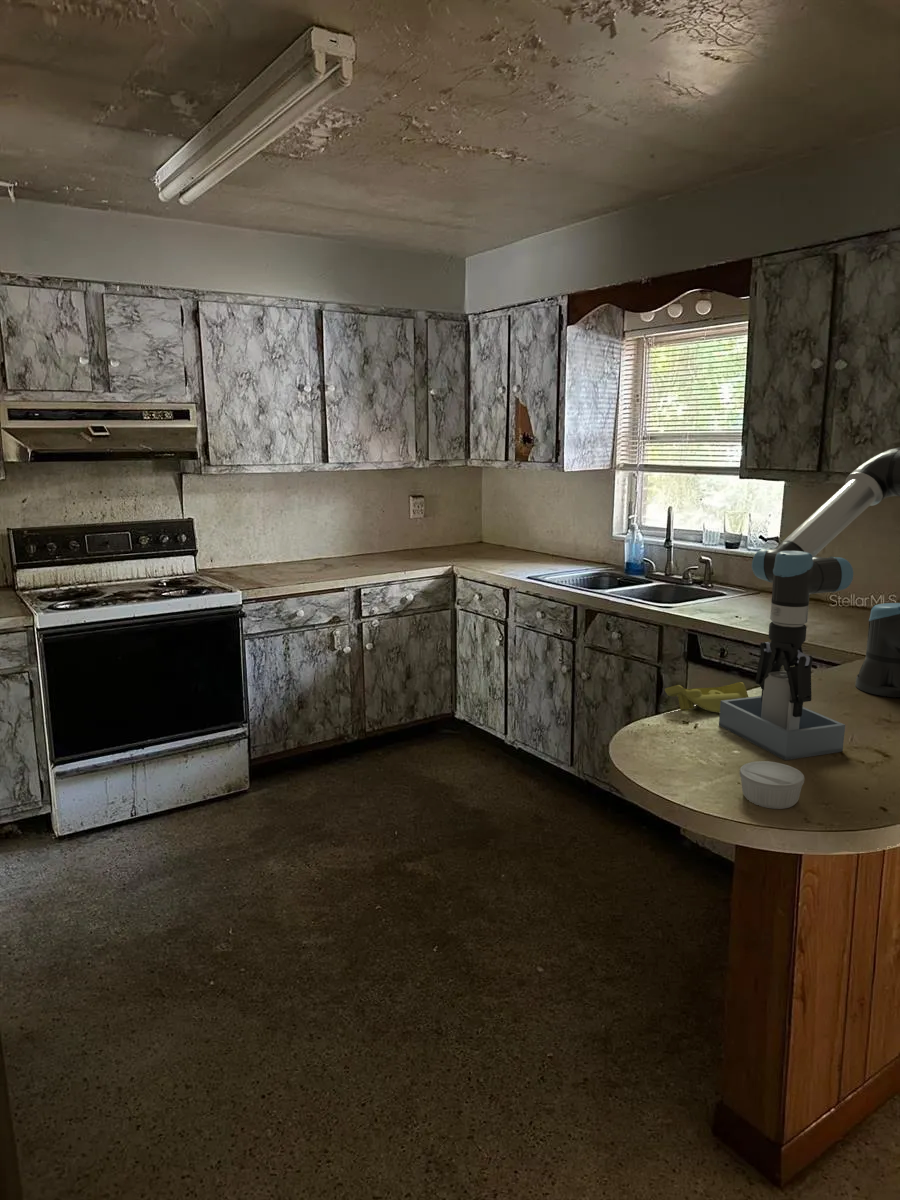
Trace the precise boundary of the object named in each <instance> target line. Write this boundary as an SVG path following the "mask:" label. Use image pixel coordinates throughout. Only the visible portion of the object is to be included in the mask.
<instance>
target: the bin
mask: <svg viewBox="0 0 900 1200" xmlns="http://www.w3.org/2000/svg"><path fill="white" fill-rule="evenodd" d="M761 696H762V695H759V696H758V695H757V696H750V697H749V696H748V697H747V698H739V699H731V700H722V701H721V702H720V713H719V719H718V726H719V727H721V728H722V729H724V730H727V731H729V732H730V733H732V734H734V735H736V736H738V737H739V738H742V739H744V740H745V741H748V742H749V743H751V744H753V745H755V746H757V747H759V748H761V749H763V750H764V749H765V751H767V752H768V751H769V752H768V753H770V754H773V755H774V756H776V757H777V758H780V759H781V760H784V761H790V760H797V759H803V758H808V757H815V756H822V755H823V756H824V755H827V754H828V755H829V754H836V753H840V752H841V753H842V752H843V751H844V744H845V743H844V742H845V741H844V740H845V732H846V724H845V723H842V722H839V721H838V720H836V719H835V720H834V719H832V718H831V717H828V716H827V715H823V714H821V713H819V712H816V711H814V710H811V709H809V708H807V707H804V706H803V708H802V716H801V717H800V723H799V729H797V730H790V731H788V730H786V729H783V728H781V727H779V726H777V725H775V724H773V723H771V722H769V721H767V720H765V719H762V718H761V711H762V701H761Z"/></svg>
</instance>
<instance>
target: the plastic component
mask: <svg viewBox="0 0 900 1200" xmlns="http://www.w3.org/2000/svg"><path fill="white" fill-rule="evenodd" d="M747 691H748V690H747V687H746V685H745V683H744V682H741V681H738V682H734V683H731V684H727V685H722V686H716V687H695V688H694V687H693V688H692V687H691V688H684V687H683V686H682V685H680V684H677V685H672V686H668V687H666V688H664V692H665V693H666V696H669V697H677V698H678V704H679V709H680V711H685V710H684V709H686V710H688V711H689V710H692V709H695V706H697V707H699V708H701V709H703V710H705V711H708V712H710V713H719V714H720V702H721V701H722V700H731V699H739V698H747V697H749V694H748V692H747Z"/></svg>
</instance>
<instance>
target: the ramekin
mask: <svg viewBox="0 0 900 1200" xmlns="http://www.w3.org/2000/svg"><path fill="white" fill-rule="evenodd" d="M739 777H740V780H741V781H740V782H741V789H742V794H743V796H744V797H745V798H746V799H747V801H748V800H749V801H748V802H750V803H751V802H752V804H753V803H754V805H756V806H758V805H759V807H762V808H766V809H775V810H781V809H783V810H785V809H789V808H792V807H793V806H795V804H797V803H798V801H799V799H800V795H801V793H802V792H801V791H802V787H803V785H804V784H805V775H804V774H803V772H802V771H800V770H799V769H798V768H796V767H793V766H790V765H787V764H784V763H781V762H775V761H768V760H766V761H765V760H763V761H762V760H760V761H759V760H758V761H757V760H756V761H751V762H750V761H749V762H748V763H747V762H746V763H745V764H743V765H742V766H741V767H740V768H739Z"/></svg>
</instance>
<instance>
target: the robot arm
mask: <svg viewBox="0 0 900 1200" xmlns="http://www.w3.org/2000/svg"><path fill="white" fill-rule="evenodd" d="M890 497H900V446H899V447H893V448H890V449H888V450H885V451H882V452H880V453H878V454H877V455H875V456H872V457H871V458H869V459H868V460H867V461H864V462H863V463H862V464H860V465H859V466H858V467H857V468H856V469H854V470H853V471H851V472H850V474H849V475H848V476H847V477H846V479H845V484H844V485H843V486H841V488H839V489H838V490H837V491H836V492H835V493H834V494H833V495H832V496H830V498H828V499H827V500H826V501H825V502H824V503H823V504H822V505H820V507H819V508H817V509H816V510H815V511H814V512H813V513H812V514H811V515H810V516H808V518H807V519H806V520H804V522H802V523H801V524H800V525H799V526H798V527H797V528H796V529H794V530H793V531H792V532H791V533H790V534H789V535H788V536H787V537H786V538H785V539H783V540H782V541H781V543H778V545H777V546H776V547H775V548H771V547H769V548H762V549H759V550H758V551H756V552H755V554H754V556H753V558H752V561H751V570H752V572H753V575H754V576H755V577H756V578H757V579H760V580H762V581H765V582H769V583H771V584H772V589H771V592H772V593H771V604H770V612H769V613H770V614H769V620H770V621H771V622H770V623H769V626H768V639H769V640H770V641H767V642H766V641H765V642H761V643H760V644H759V647H760V655H759V659H758V665H757V669H756V674H755V675H756V677H755V684H756V685H759V686H760V688H761V695H760V696H761V701H762V708H763V696H764V684H765V679H766V678H767V677H768V676H769V675H768V674H769V673H770V672H776V671H781V669H782V667H783V669H784V670H783V671H784V672H787V676H788V681H789V686H790V692H791V697H792V700H790V701H789V705H788V717H787V728H786V730H788V731H790V730H797V729H799V723H800V717H801V716H802V708H803V707H804V703H807V702H811V701H812V664H813V660H814V657H813V655H806V654H805V653H804V652H803V651H804V650H803V648H802V647H803V644H804V642H806V637H807V627H808V626H806V624H807V623H808V619H809V617H808V616H809V605H810V595H814V594H816V595H817V594H823V593H836V592H839V591H842V590H845V589H848V587H850V585H851V584H852V582H853V581H854V580H853V579H854V568H853V566H852V564H851V563H850V562H849V561H848V560H847V559H846V558H843V557H840V556H839V557H834V556H830V557H821V556H817V555H818V554H819V553H820V552H821V551H822V550H823V549H825V547H826V546H828V544H830V543H831V542H832V541H833V540H834V539H835V538H836V537H837V536H838V535H839V534H840V533H842V532H843V531H844V530H845V529H846V528H847V527H848V526H849V525H850V524H851V523H852V522H854V521H855V519H857V518H858V517H859V516H860V515H861V514H862V513H863V512H865V511H866V510H867V509H868V508H869V507H870V506H871V507H872V506H876V505H878V504H880V502H882V501H883V500H884V499H887V498H890ZM866 642H867V643H866V652H865V658H864V660H863V662H862V665H861V667H860V669H859V673H858V674H857V675H856V677H855V687H856V688H857V689H858V690H860V691H863V692H865V693H868V694H871V695H875V696H876V695H877V696H879V697H880V696H881V697H886V696H887V698H889V697H890V698H896V697H900V602H886V603H879V604H875V605H874V606H873V607H871V610H870V615H869V619H868V631H867V640H866ZM797 695H798V697H797ZM761 718H762V711H761Z"/></svg>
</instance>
